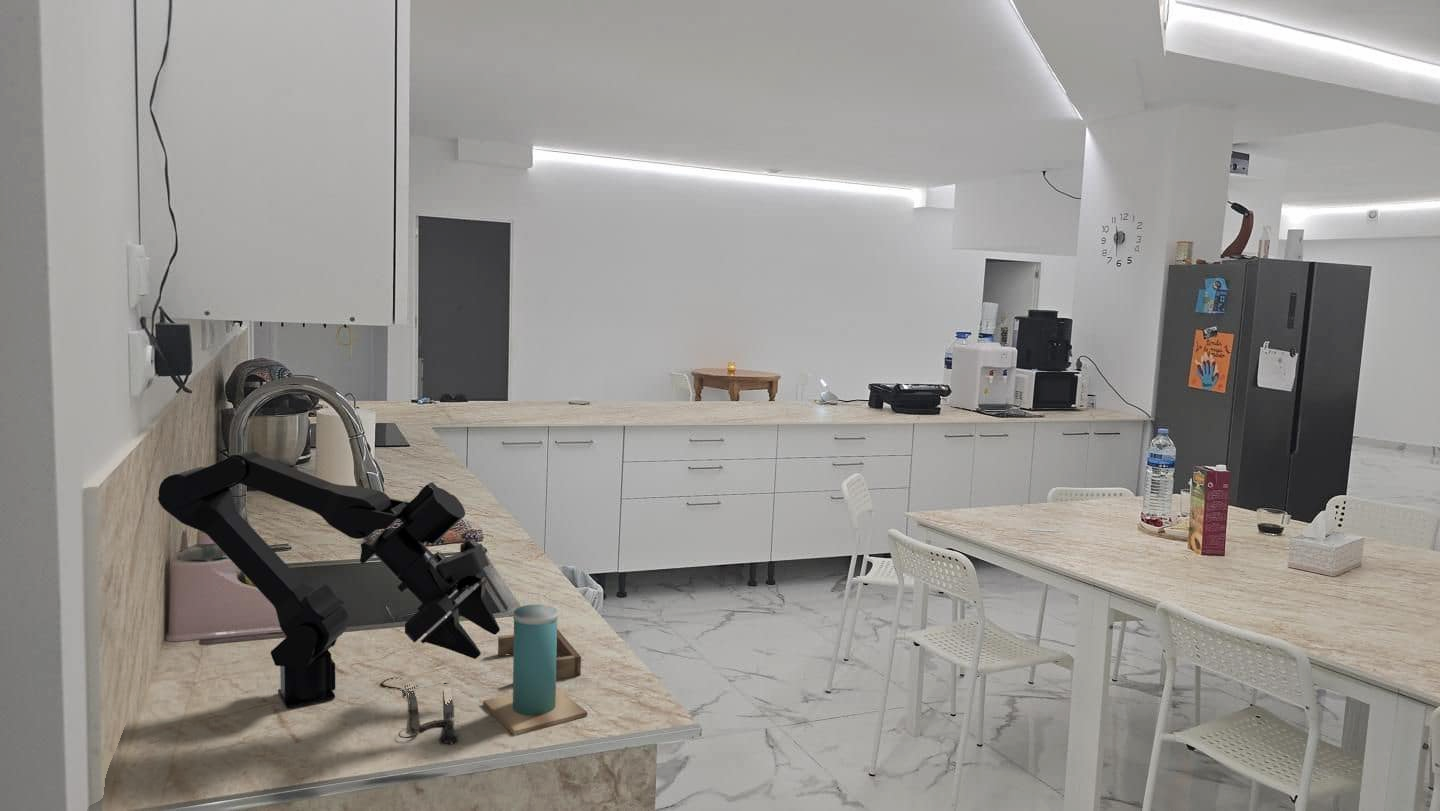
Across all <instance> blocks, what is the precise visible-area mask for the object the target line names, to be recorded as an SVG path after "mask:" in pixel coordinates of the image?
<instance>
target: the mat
mask: <svg viewBox="0 0 1440 811" xmlns="http://www.w3.org/2000/svg"><path fill="white" fill-rule="evenodd" d="M483 704H484V705H485V706H486V707H487V708H488V709H489V710H488V709H487V708H486V707H485V706H484V705H483ZM482 705H483V706H484V707H485V708H486V709H487V710H488V711H489V712H490V713H491V714H492V715H493V716H494V717H495V718H496V719H497V720H498V721H499V722H500V723H501V724H503V726H505V728H507V729H508V731H509V732H510V733H511V734H512V735H514V736H516V735H521V734H524V733H525V734H526V733H529V732H532V731H536V730H540V729H543V728H547V727H551V726H555V725H557V724H558V725H559V724H562V723H566V722H570V721H573V720H576V719H580V718H581V719H582V718H584V717H588V711H587V710H586V709H584V708H583V707H582V706H580V705H579V704H578V703H577V702H575V701H574V700H573V699H572V698H571V697H569V696H568V695H567V694H566V693H564V692H563V691H562V690H561V689H559V688H558V687H557V686H556V703H555V708H554V709H553V710H552V711H550V712H548V713H546V714H542V715H534V716H529V715H522V714H519V713H517V712H515V711H514V710H513V693H509V694H506V695H505V694H504V695H502V696H497V697H494V698H488V699H485V700H484V699H483V703H482Z"/></svg>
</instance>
